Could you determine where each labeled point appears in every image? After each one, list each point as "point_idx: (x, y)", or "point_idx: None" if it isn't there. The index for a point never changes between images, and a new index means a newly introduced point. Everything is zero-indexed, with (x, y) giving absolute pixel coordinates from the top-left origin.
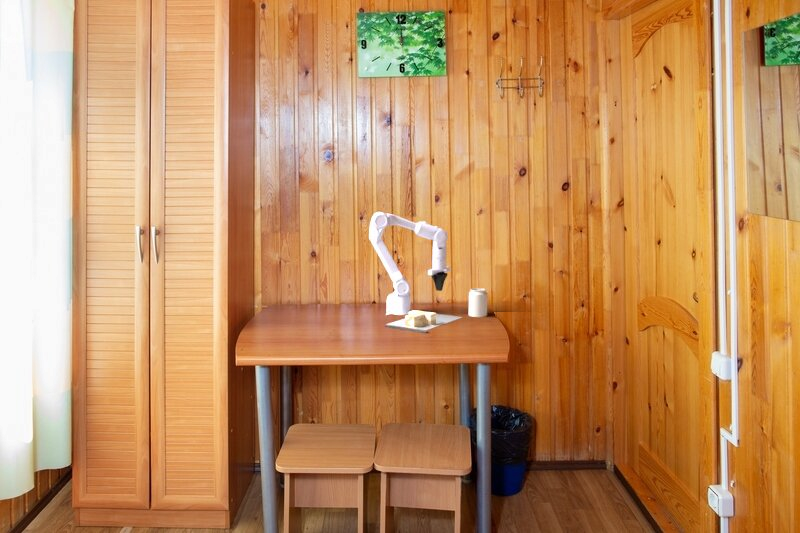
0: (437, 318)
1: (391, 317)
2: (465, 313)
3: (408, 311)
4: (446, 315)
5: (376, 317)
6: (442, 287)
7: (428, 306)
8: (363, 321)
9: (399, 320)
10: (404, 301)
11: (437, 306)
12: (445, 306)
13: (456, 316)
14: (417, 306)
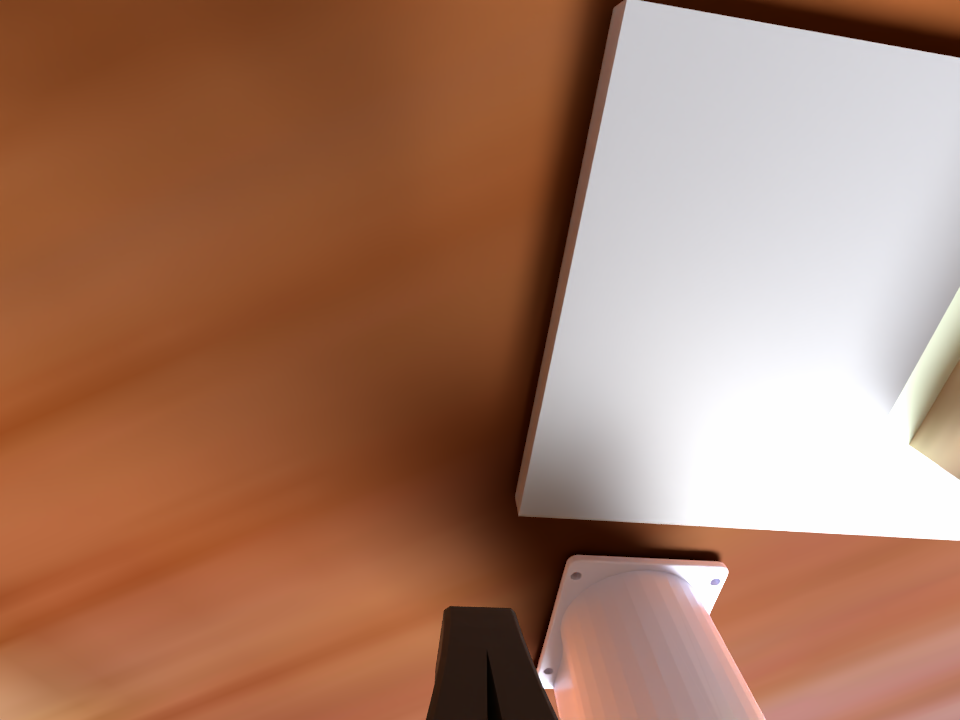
0: (792, 286)
1: None
2: (185, 157)
3: (668, 601)
4: (597, 263)
5: None
6: (459, 660)
7: (143, 617)
8: (869, 694)
9: (934, 531)
10: (760, 718)
11: (78, 564)
12: (11, 510)
13: (610, 116)
14: (212, 672)
